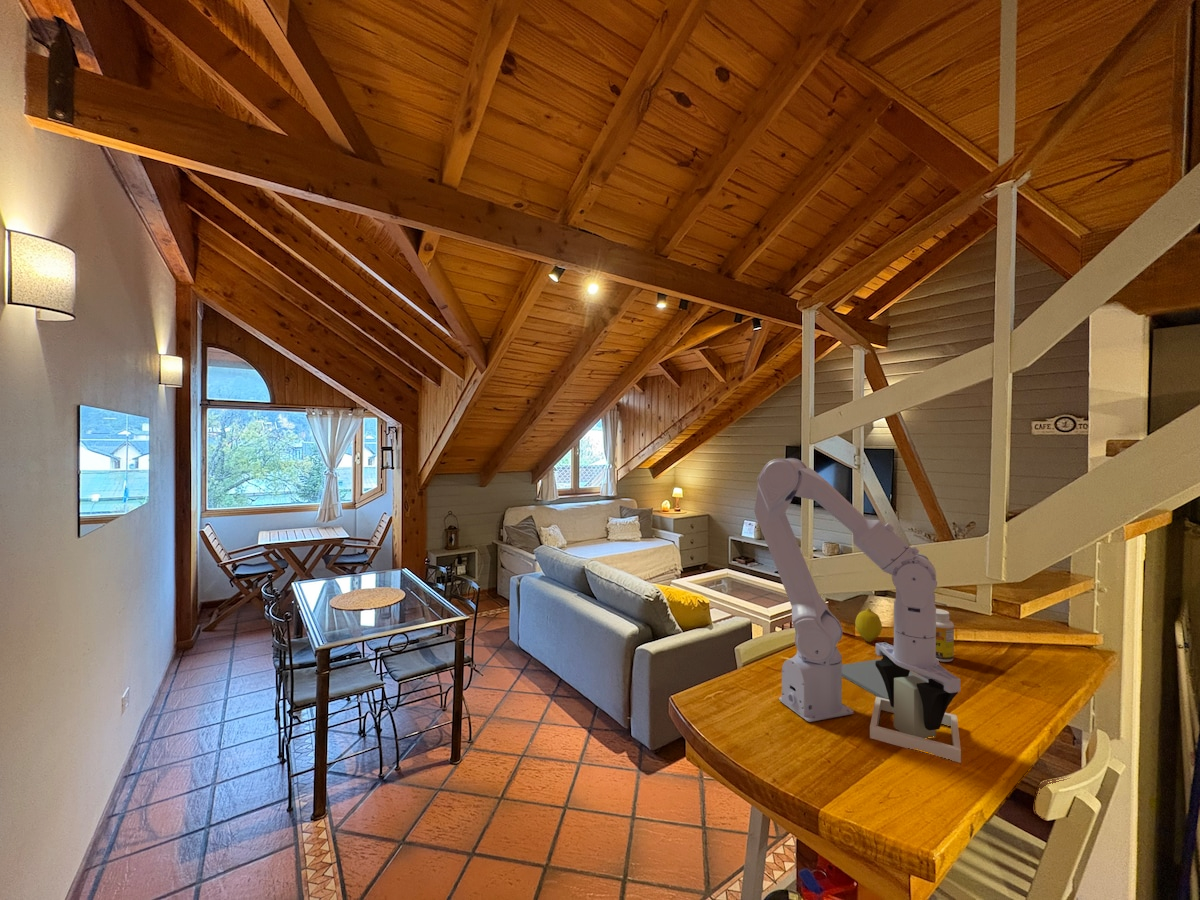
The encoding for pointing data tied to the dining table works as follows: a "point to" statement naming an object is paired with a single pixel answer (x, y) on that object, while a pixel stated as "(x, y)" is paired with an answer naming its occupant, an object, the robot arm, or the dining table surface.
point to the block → (909, 707)
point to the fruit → (868, 625)
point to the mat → (869, 677)
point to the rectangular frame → (914, 741)
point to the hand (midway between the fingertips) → (914, 717)
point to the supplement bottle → (944, 636)
